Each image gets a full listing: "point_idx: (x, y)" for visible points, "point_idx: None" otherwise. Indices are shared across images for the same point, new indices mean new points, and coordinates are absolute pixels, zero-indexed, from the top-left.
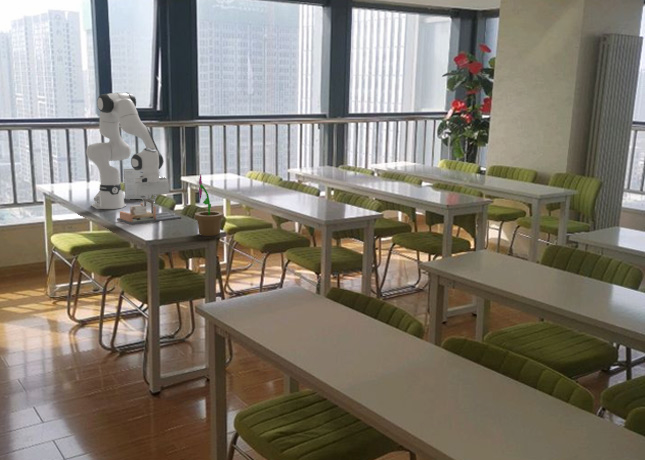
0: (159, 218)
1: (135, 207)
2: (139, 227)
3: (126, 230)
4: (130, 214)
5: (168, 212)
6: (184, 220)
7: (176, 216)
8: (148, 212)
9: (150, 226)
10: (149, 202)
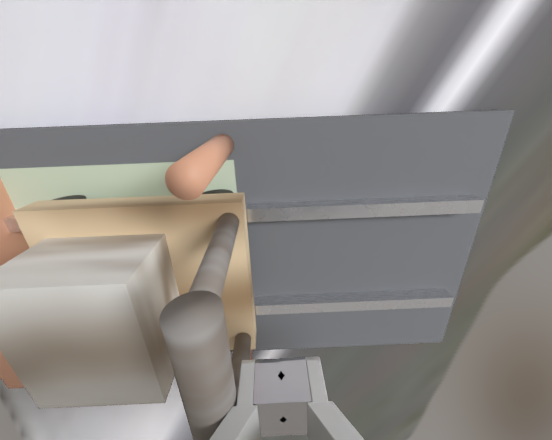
0: (286, 329)
1: (32, 391)
2: (103, 413)
3: (25, 435)
4: (14, 385)
5: (472, 211)
6: (401, 383)
7: (422, 327)
8: (230, 289)
9: (165, 417)
10: (242, 367)
